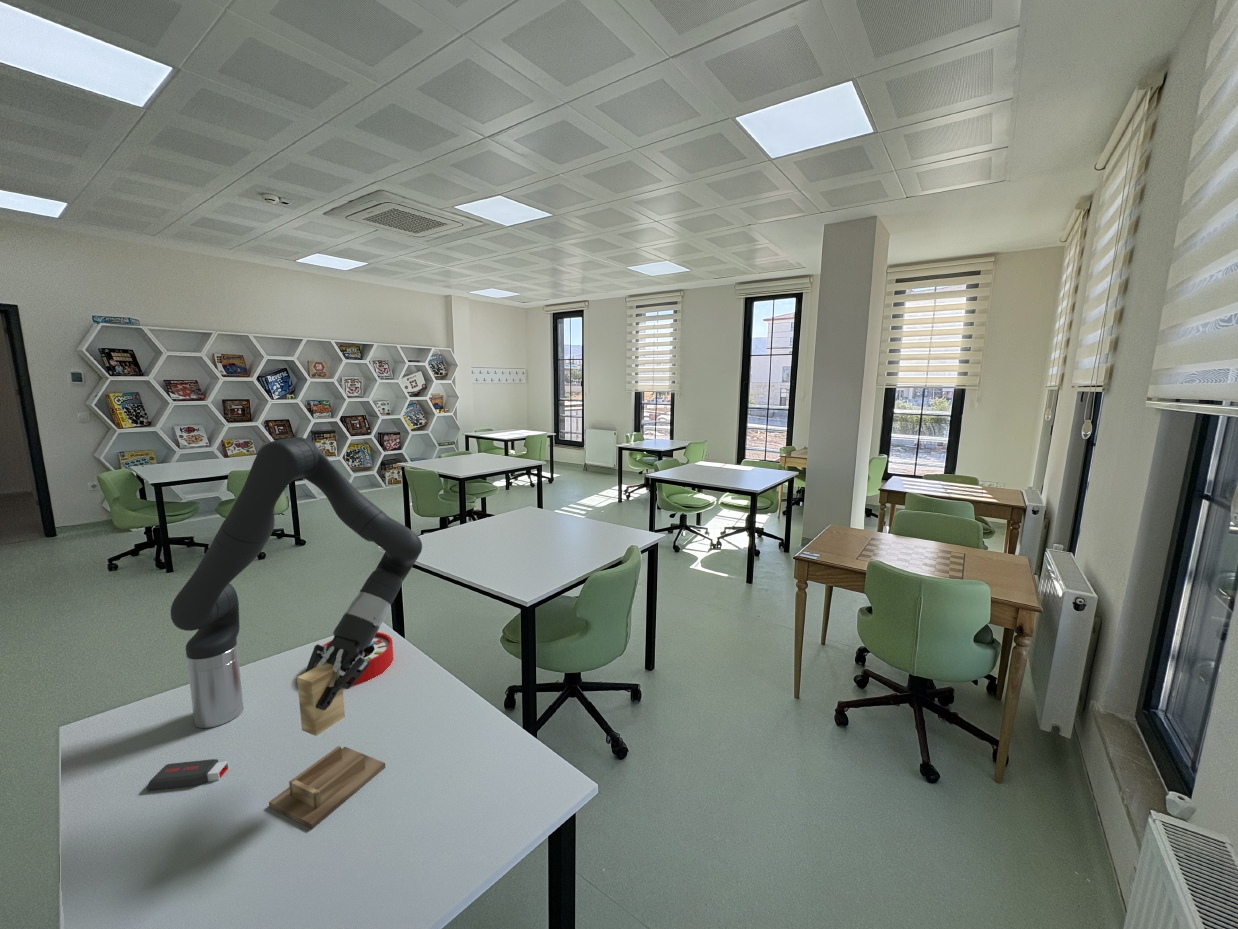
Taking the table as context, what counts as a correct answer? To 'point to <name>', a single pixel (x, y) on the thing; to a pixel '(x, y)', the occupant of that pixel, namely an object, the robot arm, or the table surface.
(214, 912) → the table surface
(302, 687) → the oak plank
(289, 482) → the robot arm
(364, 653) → the toy clock
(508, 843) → the table surface
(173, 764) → the usb drive
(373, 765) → the groove board
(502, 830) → the table surface
